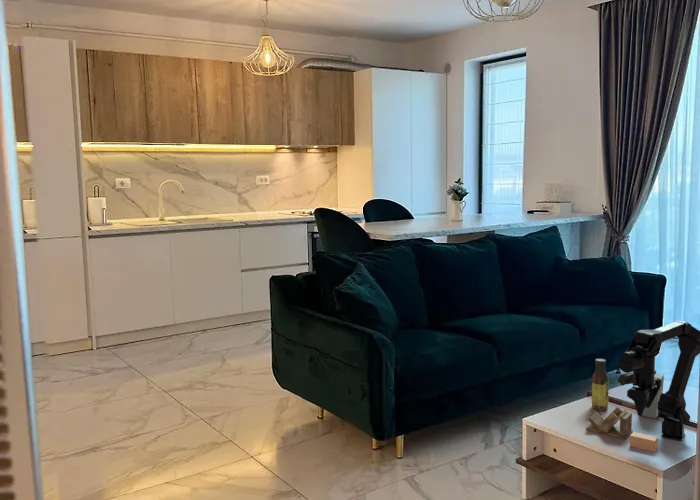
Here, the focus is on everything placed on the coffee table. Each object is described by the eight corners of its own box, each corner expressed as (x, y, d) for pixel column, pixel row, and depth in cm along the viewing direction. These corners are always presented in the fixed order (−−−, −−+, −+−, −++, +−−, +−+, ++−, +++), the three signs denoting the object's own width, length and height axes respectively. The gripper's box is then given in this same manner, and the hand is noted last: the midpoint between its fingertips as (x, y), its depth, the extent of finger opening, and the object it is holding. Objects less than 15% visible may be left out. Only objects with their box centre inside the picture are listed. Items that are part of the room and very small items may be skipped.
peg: (657, 448, 220) (657, 437, 219) (654, 452, 216) (655, 441, 216) (632, 442, 224) (633, 431, 224) (629, 446, 221) (630, 435, 221)
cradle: (632, 432, 232) (633, 409, 231) (626, 439, 227) (627, 416, 226) (593, 423, 241) (593, 401, 240) (586, 429, 236) (586, 407, 235)
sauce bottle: (609, 411, 253) (610, 362, 250) (592, 410, 254) (594, 362, 252) (606, 405, 259) (607, 358, 257) (590, 404, 260) (591, 357, 258)
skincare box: (644, 408, 255) (645, 370, 253) (663, 412, 250) (665, 374, 248) (637, 415, 248) (639, 376, 246) (657, 419, 244) (659, 379, 242)
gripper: (629, 357, 230) (628, 398, 232) (611, 370, 216) (610, 414, 218) (662, 362, 222) (661, 405, 224) (646, 376, 208) (645, 422, 210)
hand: (643, 411), depth 219 cm, fingers open, 9 cm apart
